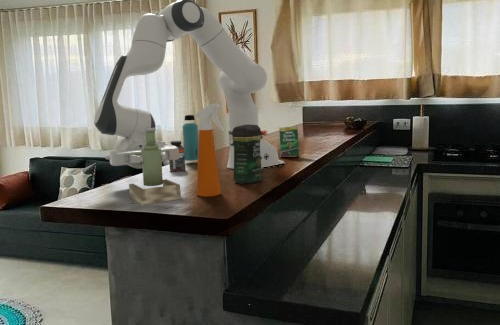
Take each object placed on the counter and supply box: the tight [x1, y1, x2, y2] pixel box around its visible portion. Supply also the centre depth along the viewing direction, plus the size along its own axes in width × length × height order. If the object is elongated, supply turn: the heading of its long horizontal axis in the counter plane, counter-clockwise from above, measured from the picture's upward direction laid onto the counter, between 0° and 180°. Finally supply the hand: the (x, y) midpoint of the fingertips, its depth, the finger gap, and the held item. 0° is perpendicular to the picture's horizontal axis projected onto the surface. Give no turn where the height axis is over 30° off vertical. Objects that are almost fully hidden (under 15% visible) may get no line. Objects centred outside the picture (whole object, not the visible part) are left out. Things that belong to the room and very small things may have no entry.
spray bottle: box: [194, 103, 225, 198], centre depth 141 cm, size 7×11×26 cm, turn 49°
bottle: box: [142, 127, 164, 187], centre depth 139 cm, size 5×5×16 cm
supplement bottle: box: [168, 140, 186, 173], centre depth 187 cm, size 6×6×11 cm
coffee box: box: [278, 126, 300, 157], centre depth 209 cm, size 8×3×13 cm, turn 86°
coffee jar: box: [232, 124, 263, 185], centre depth 159 cm, size 10×8×19 cm
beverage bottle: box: [182, 114, 199, 162], centre depth 204 cm, size 6×7×20 cm
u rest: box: [128, 178, 182, 206], centre depth 141 cm, size 11×11×4 cm
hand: (152, 158), depth 139 cm, fingers closed on bottle, 5 cm apart
